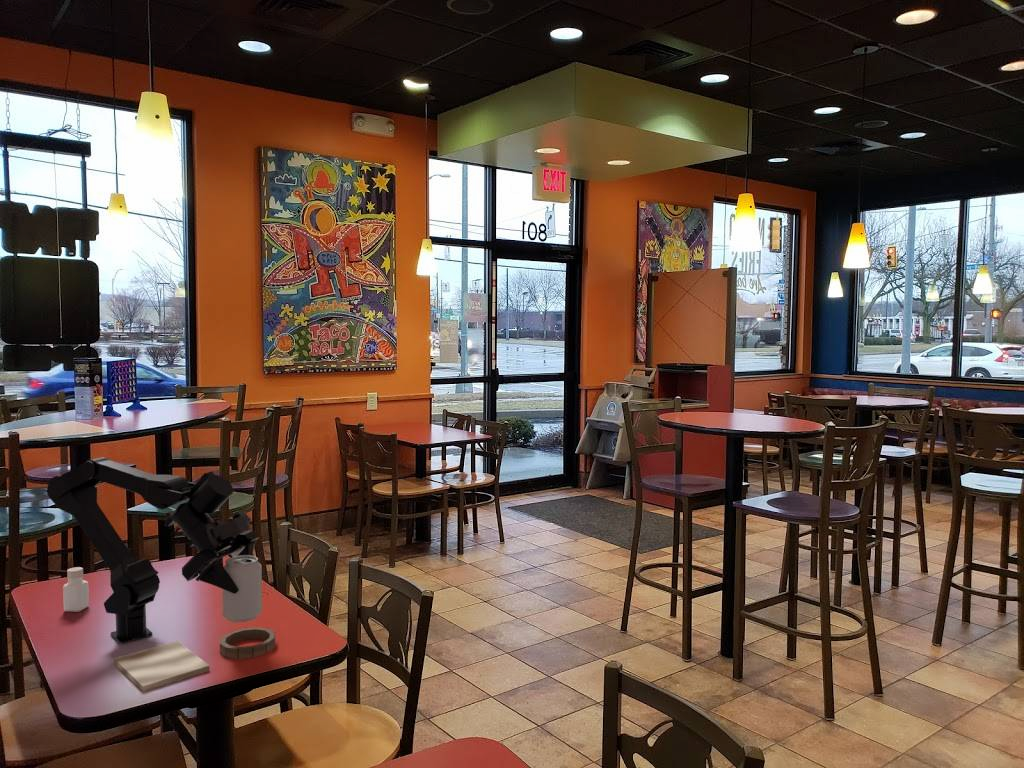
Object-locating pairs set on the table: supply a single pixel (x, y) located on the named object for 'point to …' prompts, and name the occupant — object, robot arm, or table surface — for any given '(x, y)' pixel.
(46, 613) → the table surface
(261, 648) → the walnut collar
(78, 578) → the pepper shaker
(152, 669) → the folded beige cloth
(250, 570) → the can
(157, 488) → the robot arm
